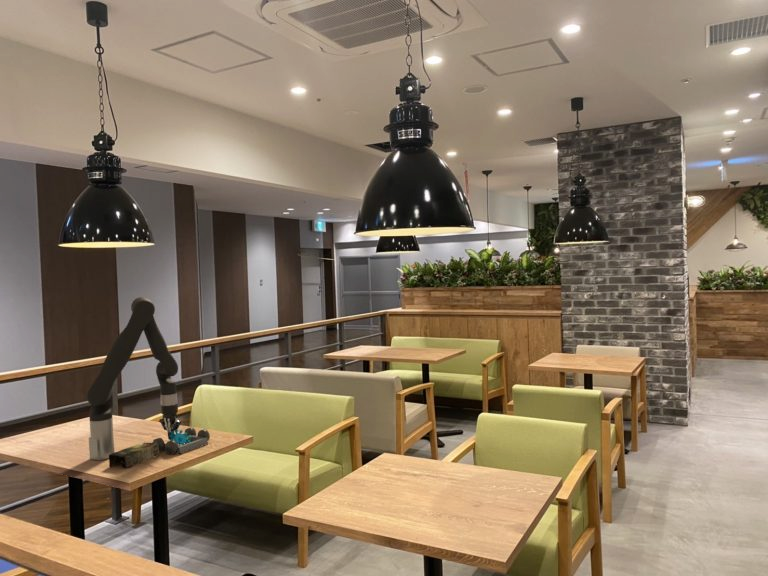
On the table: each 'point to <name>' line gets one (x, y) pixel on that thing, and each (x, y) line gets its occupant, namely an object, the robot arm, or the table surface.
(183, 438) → the gear
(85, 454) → the table surface
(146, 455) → the dark green hollow block
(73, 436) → the table surface
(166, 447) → the chassis bay
